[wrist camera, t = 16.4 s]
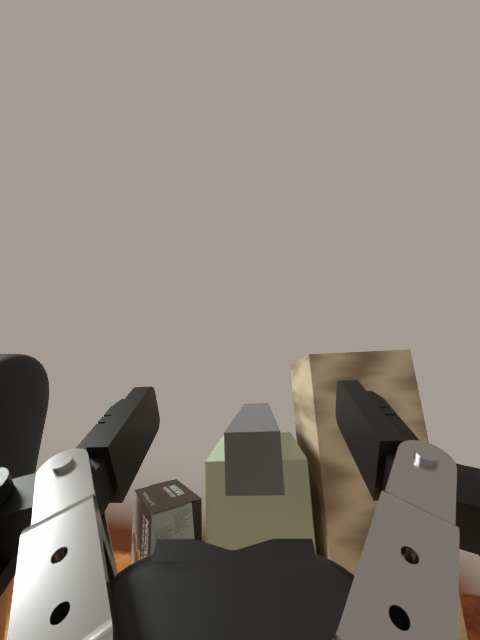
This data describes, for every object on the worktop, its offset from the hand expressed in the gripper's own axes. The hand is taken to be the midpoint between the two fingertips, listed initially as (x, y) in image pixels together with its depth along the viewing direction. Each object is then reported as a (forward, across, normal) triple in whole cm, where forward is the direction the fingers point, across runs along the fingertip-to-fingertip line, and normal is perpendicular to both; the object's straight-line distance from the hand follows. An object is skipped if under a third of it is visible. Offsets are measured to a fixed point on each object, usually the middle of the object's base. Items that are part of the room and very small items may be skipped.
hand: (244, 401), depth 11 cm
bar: (+15, 0, +16) cm, 22 cm away
